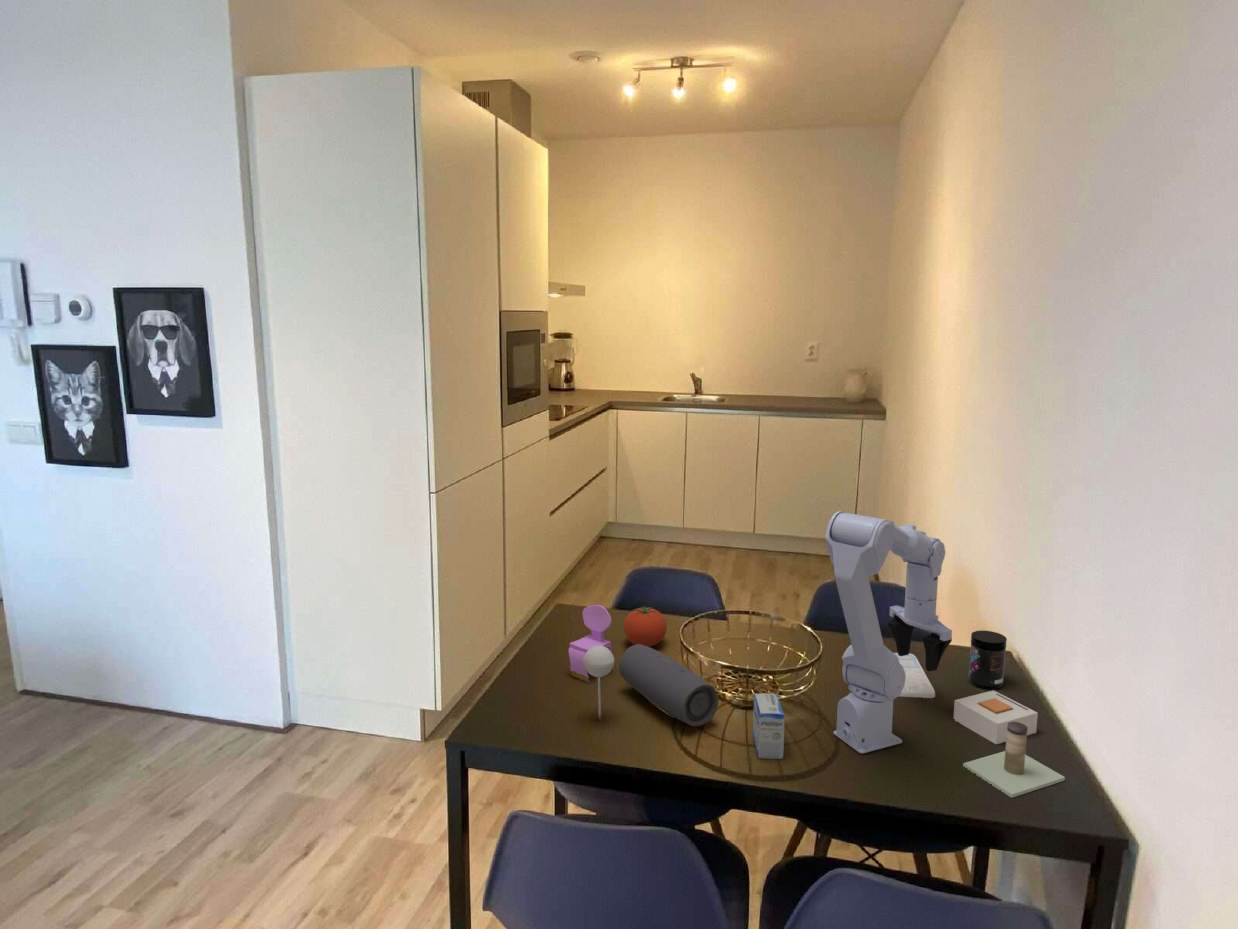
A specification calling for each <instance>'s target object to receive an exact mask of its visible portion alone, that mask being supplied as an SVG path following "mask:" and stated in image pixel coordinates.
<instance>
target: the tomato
mask: <svg viewBox="0 0 1238 929" xmlns="http://www.w3.org/2000/svg"><path fill="white" fill-rule="evenodd" d="M623 632H624V634H625V637H626V638H627V639H628V641H629V642H631V643H632V644H633V645H636V644H642V645H645V646H648V647H650V648H652V647H653V646H655V645H657V644H658V645H659V643H660V642H661V641H662V640H663V639H664V637H665V635H666V632H667V622H666V619H665V617H664V616H663V614H662V613H661V612H660V611H659V610H657V609H655V608H653V607H649V606H648V607H646V605H644V606H640V607H639V608H634V609H631V611H630V612H628V614H627V616H626V617H625V620H624V622H623Z"/></svg>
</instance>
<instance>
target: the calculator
mask: <svg viewBox="0 0 1238 929" xmlns="http://www.w3.org/2000/svg"><path fill="white" fill-rule="evenodd" d="M893 653H894V654H895V655H896V656H897V657H898V659H899V663H900V664H901V665H902V666H903V668H904V671H905V675H906V679H905V685H904V688H903V690H902V692H901V694H900V695H899V696H898V697H897V698H901V697H903V698H918V697H919V698H920V699H921V697H922V698H923V699H924V698H925V699H933V698H935V697H936V691H935V688H934V687H933V685H932V684H931V682H930V680H929V678H928V676H927V675H926V673H925V670H924V669H923V667H922V666H921V665H922V664H921V663H920V662H919V660H918V658H917V656H916V655H915V654H913V653H909V655H905V656H899V655H898V652H893Z"/></svg>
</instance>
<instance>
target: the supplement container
mask: <svg viewBox="0 0 1238 929" xmlns="http://www.w3.org/2000/svg"><path fill="white" fill-rule="evenodd" d="M1006 649H1007V637H1006V636H1005V635H1003V634H1001V633H998V632H996V631H992V630H974V631H973V632H971V636H970V651H969V652H970V653H969V665H968V681H969V682H970V683H971V685H973V684H974V685H973V686H975V687H978V688H980V689H984V688H985V689H984V690H997V688H998V689H1000V688H1001V687H1002V686H1003V685H1004V676H1005V665H1006V664H1005V663H1006V662H1005V661H1006V651H1007V650H1006Z"/></svg>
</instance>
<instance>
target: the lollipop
mask: <svg viewBox="0 0 1238 929" xmlns="http://www.w3.org/2000/svg"><path fill="white" fill-rule="evenodd" d="M583 663H584V667H585V669H586V671H587V674H589V675H591V676H592V677H595V678H597V688H598V689H597V692H598V693H597V696H598V699H597V700H598V701H597V702H598V703H597V704H598V706H597V707H598V716H599V715H601V716H602V708H601V707H602V699H601V697H602V696H601V678H602V677H605V676H608V675H609V674H610V673H611V672H612V671H613V670H612V668H613V665H614V666H615V657H614V654H613V653H612V650H611V651H610V650H609V649H608V648H606V647H604V646H594V647H592V648H590V649H589V650H588V651H587V652H586V654H585V656H584V658H583Z"/></svg>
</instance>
